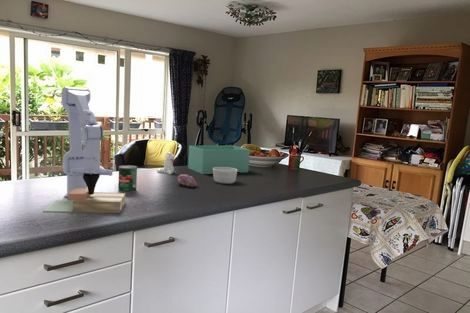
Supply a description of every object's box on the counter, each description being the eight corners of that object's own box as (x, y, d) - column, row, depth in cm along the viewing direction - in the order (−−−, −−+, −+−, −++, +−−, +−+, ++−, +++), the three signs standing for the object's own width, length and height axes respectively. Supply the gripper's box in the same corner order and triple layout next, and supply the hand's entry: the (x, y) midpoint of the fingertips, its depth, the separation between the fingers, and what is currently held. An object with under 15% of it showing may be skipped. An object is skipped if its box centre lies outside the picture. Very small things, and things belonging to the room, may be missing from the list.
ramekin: (232, 179, 216) (233, 166, 215) (240, 184, 203) (240, 171, 202) (209, 179, 212) (210, 166, 211) (215, 184, 199) (216, 171, 198)
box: (248, 172, 242) (249, 149, 240) (202, 174, 226) (203, 149, 224) (232, 167, 260) (233, 145, 258) (188, 168, 244) (189, 145, 242)
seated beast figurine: (156, 172, 221) (156, 152, 220) (164, 170, 229) (165, 150, 228) (170, 174, 218) (171, 153, 216) (178, 172, 226) (179, 152, 224)
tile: (74, 193, 147) (74, 188, 146) (91, 193, 148) (91, 188, 147) (68, 199, 138) (68, 193, 138) (85, 199, 139) (85, 194, 138)
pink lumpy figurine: (177, 187, 194) (174, 175, 190) (183, 182, 197) (179, 170, 193) (193, 190, 189) (190, 178, 185) (198, 185, 192) (195, 173, 188)
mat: (56, 201, 149) (56, 200, 149) (82, 201, 151) (82, 200, 150) (43, 211, 134) (42, 210, 134) (71, 212, 136) (71, 211, 136)
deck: (82, 202, 150) (82, 191, 150) (125, 202, 152) (125, 193, 152) (72, 212, 136) (73, 200, 136) (119, 212, 139) (119, 202, 138)
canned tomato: (117, 192, 168) (118, 167, 167) (118, 188, 176) (118, 165, 174) (136, 192, 170) (137, 168, 169) (136, 188, 178) (136, 165, 177)
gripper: (67, 158, 136) (67, 195, 138) (110, 159, 139) (109, 196, 140) (73, 155, 143) (73, 191, 145) (113, 157, 146) (113, 192, 147)
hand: (91, 193), depth 143 cm, fingers closed
